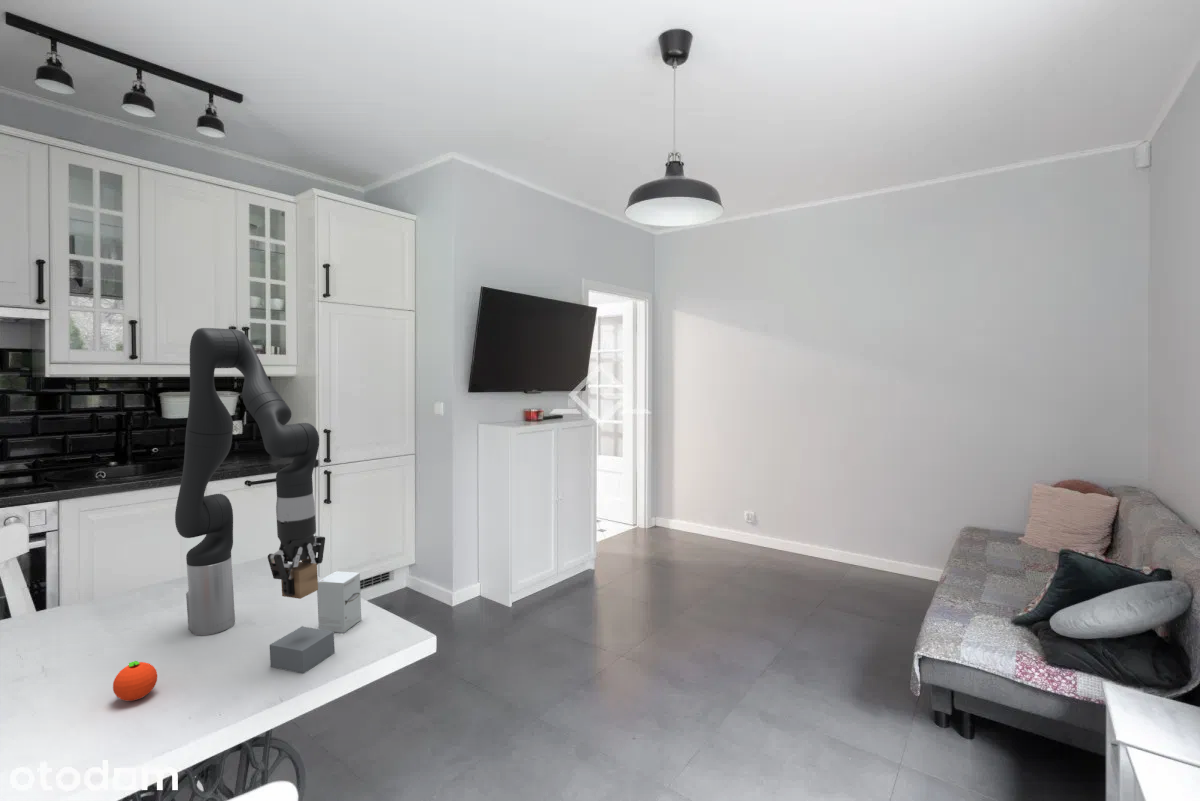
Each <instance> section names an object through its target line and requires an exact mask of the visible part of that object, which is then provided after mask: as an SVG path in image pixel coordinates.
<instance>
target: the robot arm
mask: <svg viewBox="0 0 1200 801" xmlns="http://www.w3.org/2000/svg"><path fill="white" fill-rule="evenodd" d="M233 368H235V369H237V370H238V371H239V372H240V373H241V374H242V375H243V376H244V380H243V381H244V382H243V386H242V391H241V393H242V394H241V398H242V401H243V404H244V407H245V408H246V409H247V411H248V412H249V414H250V415H251V417H252V418H253V419H254V420H255V423H257V425H258V428H259V432H260V435H261V438H262V443H263V446H264V450H265V451H266V452H267V454H269V455H270V456H272V457H273V458H276V459H286V458H293V459H292V462H291V464H289V465H287V466H285V467H283V468H281V469H279V470H278V471H277V472H276V474H275V484H276V485H275V486H276V489H275V490H276V504H275V511H276V512H275V513H276V531H277V532H276V533H277V538H278V540H279V541H280V546H279V548H278V550H277V551H275V552H274V553H269V554H268V555H267V560H268V564H269V567H270V571H271V574H272V575H271V576H272V578H273V579H274V580H282V581H283V593H284V594H285V595H286V596H293V595H294V594H295V587H294V579H293V577H294V571H295V569H296V568H297V567H298V563H299V562H302V563H305V562H307V563H310V564H311V563H315V564H317V566H318V565H319V564H322V563H323V560H324V552H325V545H326V544H325V543H326V537H325V536H320V535H319V536H318V535H315V534H316V533H317V521H316V501H315V498H314V490H313V488H314V484H313V474H314V469H315V468H314V467H315V464H316V460H317V456H318V453H319V447H320V435H319V432H318V430H317V428H316V427H315V426H314V425H313V424H312V423H309V422H301V423H300V422H299V423H293V424H292V423H291V424H288V423H289V421H290V420H291V418H292V411H291V408H290V407H289V405H288V404H287V403H286V401H285V400H284V399H283V397H282V396H281V394H280V393H279V392H278V391H277V390H276V388H275V387H274V385H273V384H272V383H271V380H270V379H269V377H268V375H267V373H266V371H265V368H264V366H263V364H262V362H261V360H260V358H259V356H258V354H257V352H256V350H255V348H254V346H253V343H252V342H251V340H250V339H249V337H248V336H247V335H246V334H245V333H244V332H243V331H241V330H239V329H234V328H233V329H232V328H214V327H201V328H197V329H196V330H195V331H194V332H193V334H192V335H191V340H190V344H189V401H188V402H189V403H188V414H187V421H186V427H185V428H186V430H185V438H184V457H183V458H184V459H183V466H182V476H181V481H180V484H179V485H180V486H179V492H178V495H177V500H176V506H175V512H174V523H175V529H176V530H177V532H178V534H179V535H180V537H182V538H186V539H191V538H198V537H201V536H204V537H203V539H202V540H201V541H200V542H198V543H197V544H196V545H195V546H193V547H192V548H190V549H189V550H188V551H187V553H186V558H185V559H186V560H185V561H186V575H187V586H188V588H187V590H188V591H186V593H185V598H186V614H187V627H188V629H187V630H189V631H190V632H191V634H192V635H195V636H209V635H213V634H218V633H220V632H223V631H225V630H228V629H230V628H231V627H233V626H234V625H235V624H236V615H235V611H236V610H235V598H234V597H235V596H234V595H235V592H234V579H233V578H234V577H233V575H234V574H233V564H232V563H233V562H232V559H233V558H232V551H233V550H232V549H233V545H234V512H233V511H234V509H233V506H232V503H231V501H230V499H229V498H228V497H227V496H226V495H225V494H223V493H214V494H210V495H205V494H206V489H207V486H208V484H209V482H210V480H211V478H212V476H213V475H214V474H215V473H216V471H217V469H219V468H220V466H221V465H222V463H223V462H224V461H225V459H226V458H227V456H228V455H229V453H230V450H231V448H232V441H233V432H234V431H233V430H234V422H233V421H234V420H233V417H232V415H231V414H230V412H229V411H228V409H227V407H226V406H225V404H224V403H223V401H222V400H221V398H220V396H219V395H218V392H217V390H216V387H215V370H216V369H233ZM288 568H289V573H287V570H288Z"/></svg>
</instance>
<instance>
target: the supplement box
mask: <svg viewBox="0 0 1200 801" xmlns="http://www.w3.org/2000/svg"><path fill="white" fill-rule="evenodd" d="M360 573H361V572H355V571H354V572H353V571H352V572H351V571H339V570H338V571H333V572H332V573H330V574H328V575H326V576H324V577H323V578H321V579H319V580H318V590H317V591H316V593H317V595H316V596H317V617H318V618H317V620H318V621H317V622H318V629H321V630H327V631H333V632H334V633H340V634H344V633H346V632H347V631H348V630H349V629H350V628H352V627H353V626H355V625H356V624H357V623H359V622H360V621H362V599H361V598H362V596H361V574H360Z"/></svg>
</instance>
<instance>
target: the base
mask: <svg viewBox="0 0 1200 801" xmlns="http://www.w3.org/2000/svg"><path fill="white" fill-rule="evenodd" d="M334 652H335V632H333V631H327V630H321V629H319V628H315V627H309V626H303V625H301V626H300V627H298V628H297V629H295V630H293V631H291V632H290V633H287V634H286V635H283V637H281V638H279V639H277V640H275V641H274V642H272V643H270V644H269V660H270V661H269V664H270V667H271V668H275V669H279V670H285V671H290V672H295V673H299V674H305V673H307V672H308V671H309V670H311V669H313V668H314V667H316V666H317V665H318V663H319V664H320V663H322V662H323V661H325V660H326V659H328V658H329V657H330V656H332V655H333V654H335V653H336V652H335V653H334ZM325 658H326V659H325ZM324 659H325V660H324ZM321 661H322V662H321Z"/></svg>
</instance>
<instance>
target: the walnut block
mask: <svg viewBox="0 0 1200 801" xmlns="http://www.w3.org/2000/svg"><path fill="white" fill-rule="evenodd" d="M287 573H289V568H288V570H287ZM293 579H294V587H295V594H294V595H293V596H286V595H285V594H284V593H283V581H282V580H281V579H280V580H281V582H280V583H281V596H282V597H285V598H286V597H287V598H291V599H292V598H293V599H299V600H300V599H303V598H305V597H307V596H308V595H311V594H313V593H314V592H317V590H318V581H319V580H318V579H319V578H318V565H317V564H315V563H311V564H310V563H307V562H305V563H302V561H299V563H298V567H297V568H296V569H295V571H294V577H293Z"/></svg>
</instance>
